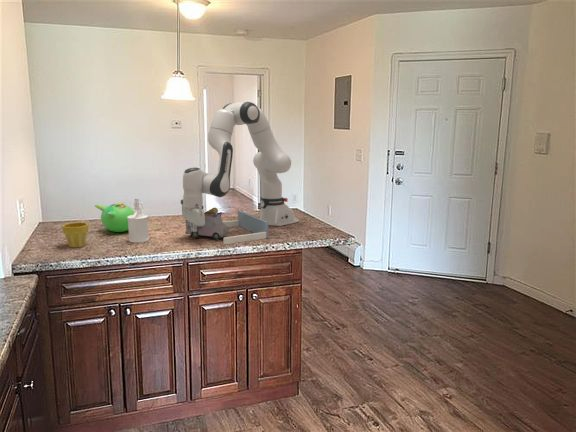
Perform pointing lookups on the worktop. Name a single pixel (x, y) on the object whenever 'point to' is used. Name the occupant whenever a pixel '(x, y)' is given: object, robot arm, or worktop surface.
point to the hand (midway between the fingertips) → (194, 231)
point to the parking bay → (249, 223)
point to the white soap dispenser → (138, 225)
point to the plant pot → (75, 233)
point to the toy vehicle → (210, 226)
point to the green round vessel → (115, 216)
